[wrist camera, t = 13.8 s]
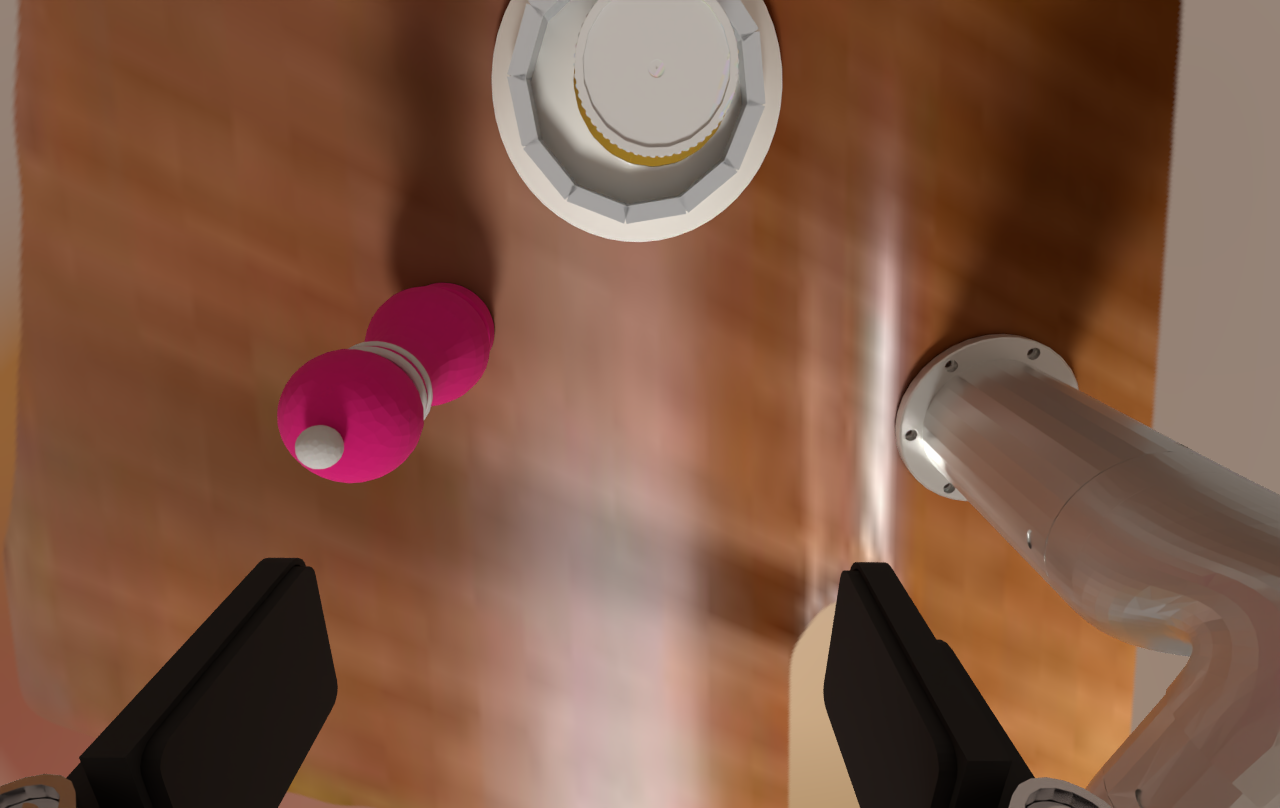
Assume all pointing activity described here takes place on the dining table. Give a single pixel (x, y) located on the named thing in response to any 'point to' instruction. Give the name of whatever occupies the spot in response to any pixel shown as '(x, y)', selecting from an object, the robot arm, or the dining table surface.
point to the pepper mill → (385, 383)
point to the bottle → (655, 76)
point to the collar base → (590, 175)
